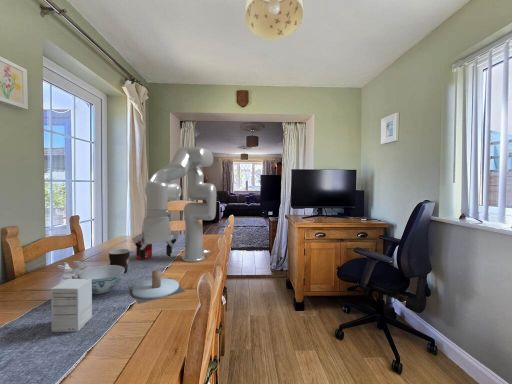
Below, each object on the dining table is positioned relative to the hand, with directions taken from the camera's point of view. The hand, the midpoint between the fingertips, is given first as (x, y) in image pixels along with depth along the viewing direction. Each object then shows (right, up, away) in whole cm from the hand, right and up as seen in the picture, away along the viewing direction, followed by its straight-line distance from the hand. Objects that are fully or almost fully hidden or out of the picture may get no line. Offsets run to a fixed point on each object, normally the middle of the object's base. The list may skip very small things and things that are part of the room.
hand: (156, 257), depth 98 cm
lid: (0, -13, +1) cm, 13 cm away
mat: (0, -13, +1) cm, 13 cm away
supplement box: (-15, -14, -24) cm, 31 cm away
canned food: (-23, -11, +41) cm, 49 cm away
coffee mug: (-24, -12, +20) cm, 34 cm away
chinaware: (-20, -13, -1) cm, 24 cm away
